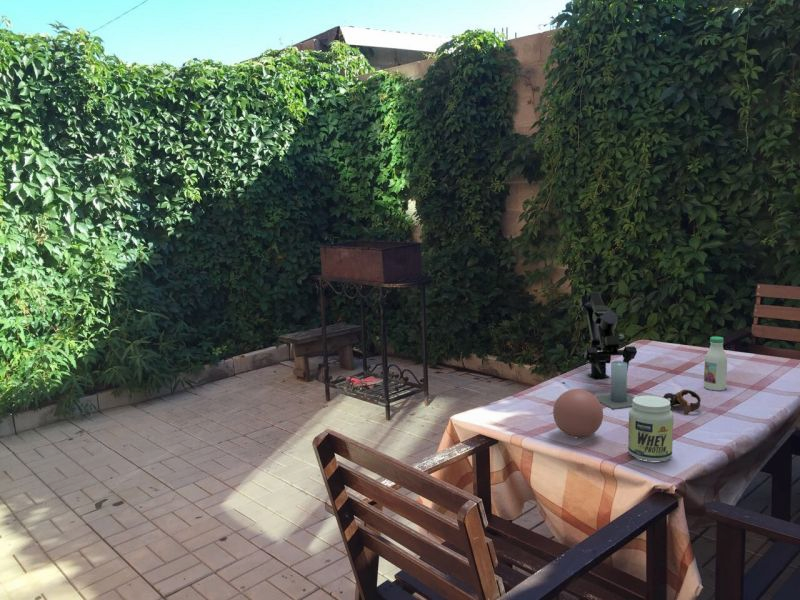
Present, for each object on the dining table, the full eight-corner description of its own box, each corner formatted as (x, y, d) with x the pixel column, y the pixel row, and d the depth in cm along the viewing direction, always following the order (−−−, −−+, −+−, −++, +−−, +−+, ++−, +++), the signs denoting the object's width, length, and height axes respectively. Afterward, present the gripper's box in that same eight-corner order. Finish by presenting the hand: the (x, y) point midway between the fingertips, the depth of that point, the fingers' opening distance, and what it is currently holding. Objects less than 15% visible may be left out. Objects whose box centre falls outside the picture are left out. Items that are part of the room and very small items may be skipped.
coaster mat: (591, 397, 242) (591, 396, 242) (624, 393, 245) (624, 392, 245) (612, 409, 228) (612, 408, 228) (646, 404, 232) (646, 403, 232)
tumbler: (612, 396, 241) (612, 360, 238) (627, 398, 238) (628, 362, 235) (609, 401, 236) (609, 364, 233) (625, 403, 233) (625, 366, 231)
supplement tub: (631, 463, 185) (632, 407, 182) (625, 446, 196) (626, 393, 194) (676, 465, 182) (678, 408, 179) (667, 448, 194) (669, 394, 191)
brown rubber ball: (615, 428, 211) (615, 383, 208) (591, 449, 195) (592, 401, 193) (570, 420, 220) (570, 377, 218) (545, 439, 205) (544, 393, 202)
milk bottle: (721, 384, 250) (723, 335, 247) (729, 391, 243) (731, 339, 239) (700, 385, 251) (702, 335, 248) (708, 391, 244) (710, 340, 240)
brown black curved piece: (692, 406, 230) (701, 390, 225) (695, 425, 223) (704, 409, 218) (658, 397, 232) (666, 381, 227) (660, 416, 224) (669, 400, 219)
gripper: (586, 327, 244) (592, 363, 236) (636, 325, 243) (644, 362, 234) (581, 342, 254) (587, 377, 245) (629, 340, 252) (637, 376, 244)
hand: (614, 372), depth 242 cm, fingers open, 9 cm apart
